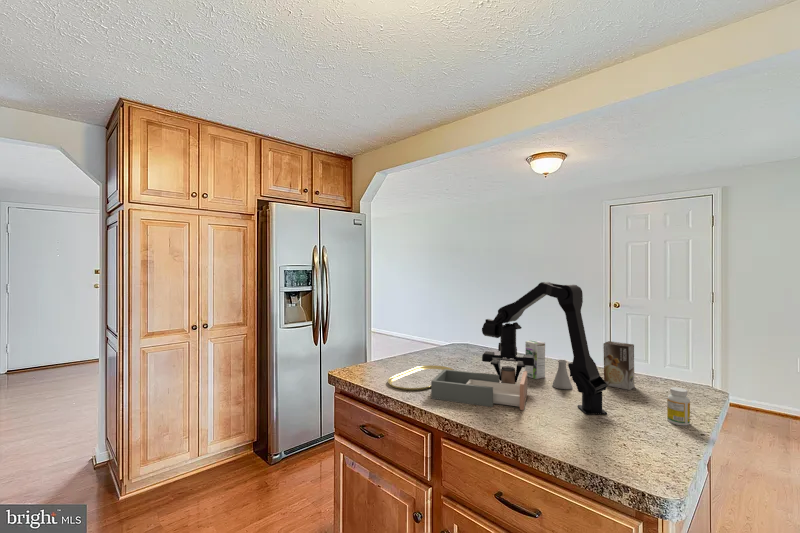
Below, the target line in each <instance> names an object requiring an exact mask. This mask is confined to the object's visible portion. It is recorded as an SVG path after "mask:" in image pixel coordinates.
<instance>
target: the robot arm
mask: <svg viewBox="0 0 800 533" xmlns="http://www.w3.org/2000/svg"><path fill="white" fill-rule="evenodd" d="M546 296H549V297H551V298H556V300H557V302H558V305H559V306H560V309H562V311H563V313H564V315H565V320H566V323H567V324H566V325H567V329H568V335H569V339H570V340H569V341H570V346H571V350H572V354H573V358H572V362H569V363H568V364H567V366H568V369H569V378H570V377H571V379H572V381H573V383H575V385H576V388H577V391H578V393H581V404H578V405H577V408H579V410H581V411H582V412H583V413H584V414H586V415H608V412H607V411H606V410H604V409H603V391H605V390H607V388H608V386H607V383H606V382H605V381H604V378H603V377H602V376H601V375H600V372H599V369H598V367H597V364H596V362H595V360H594V359H593V358H592V357H591V355H590V351H589V347H588V346H589V345H588V341H587V336H586V330H585V327H584V321H583V316H582V315H583V314H582V307H583V302H584V301H583V300H584V298H583V296H584V295H583V290H582V288H581V287H580V286H579V285H577V284H557V283H554V282H549V281H543V282H542V281H541V282H539V283H538V284H537V285H536V286H535V287H534V288H532V289H531V290H530V291H527V293H525V294H524V295H523V296H521V297H520V298H519V299H517V300H516V301H514V302H512V303H509V304H506V305H503V306H501V307H499V309H498V310H497V314H496V315H495V317H494V318H493V319H491V318H487V319H485V322H483V325H482V328H481V332H482V335H484V337H488V338H489V337H490V338H496V339H499V338H500V339H499V340H500V342H498V348H497V349H498V352H499V353H500V354H495V351H484V352H483V353H482V355H481V356H482V357H481V362H484V363H490V365H492V366H493V368H494V369H495V371H496V375H499V382H501V369H502V366H501V361H505V362H517V364H516V368H515V383H517V382H518V379H519V376H520V374H521V373H520V372H521V371H522V369H525V366H534V364H535V357H534V356H533V355H525V354H523V356H518V348H517V330H521V329H522V326H521V324H519V323H518V322H515V321H517V320H519V319H520V317H522V316H523V314H524V312H525V311H526V310H527V309H528V308H530V307H531V306H533V305H534V304H535V303H537V302H539V301H540V300H541V299H544V298H545V297H546ZM510 322H511V323H510ZM512 322H513V323H512Z"/></svg>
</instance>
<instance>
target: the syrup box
mask: <svg viewBox="0 0 800 533" xmlns="http://www.w3.org/2000/svg"><path fill="white" fill-rule="evenodd" d="M524 347H525V349H524V352H525V354H524V355H533V356H534V357H535V364H534V366H525V368H524V369H525V370H524V371H527V378H528V377H529V378H531V379H533V380H538V379H544V378H546V342H543V341H538V340H534V339H532V340H531V339H530V340H526V341H525V346H524Z"/></svg>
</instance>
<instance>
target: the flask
mask: <svg viewBox="0 0 800 533" xmlns="http://www.w3.org/2000/svg"><path fill="white" fill-rule="evenodd" d="M557 362H558V365H557V366H558V367H557V370H556V371H557V372H556V373H555V377H554V379H553V382H552V384H551V386H552V387H553V388H556V389H557V390H558V389H561V390H571V389H573V384H572V382H571V379H570V375H569V373H568V370H567V365H566V364H567V362H568V360H566V359H557Z"/></svg>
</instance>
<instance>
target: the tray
mask: <svg viewBox="0 0 800 533" xmlns="http://www.w3.org/2000/svg"><path fill="white" fill-rule="evenodd" d="M466 384H470V385H479V386H487V387H493V404H498V405H504V406H505V405H506V406H511V407H512V406H514V407H519V410H521V411H524V410H525V406H526V402H527V397H528V376H527V371H525V370H523V372H522V375H521V379H520V381H519V384H516V383H515V384H508V383H501V382H500V381H499V382H490V381H481V380H472V379H470V380H469V381H468V382H467V383H466Z"/></svg>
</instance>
